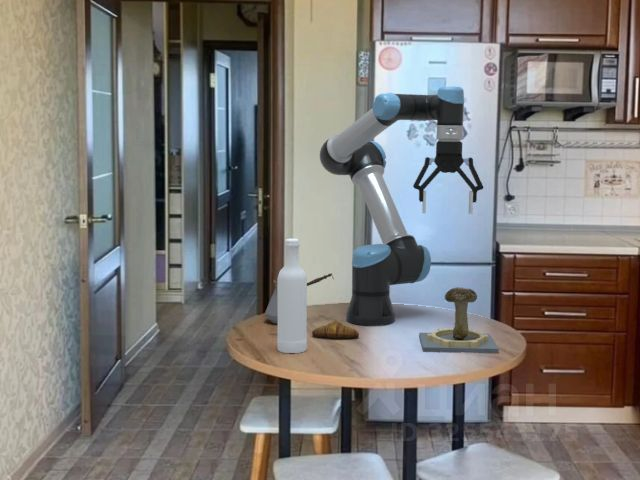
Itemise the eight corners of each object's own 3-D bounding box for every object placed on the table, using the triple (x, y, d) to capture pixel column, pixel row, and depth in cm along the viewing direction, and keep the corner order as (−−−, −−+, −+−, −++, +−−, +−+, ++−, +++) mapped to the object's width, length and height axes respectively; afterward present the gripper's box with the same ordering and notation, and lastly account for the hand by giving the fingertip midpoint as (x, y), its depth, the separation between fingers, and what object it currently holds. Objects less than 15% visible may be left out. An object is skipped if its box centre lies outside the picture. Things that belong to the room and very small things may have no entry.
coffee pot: (265, 326, 237) (265, 277, 235) (264, 317, 248) (264, 271, 246) (335, 325, 239) (336, 276, 237) (331, 316, 250) (331, 270, 248)
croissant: (359, 335, 227) (359, 318, 226) (358, 341, 220) (358, 324, 220) (313, 334, 228) (313, 317, 228) (310, 340, 222) (310, 322, 221)
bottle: (303, 354, 206) (304, 241, 203) (274, 353, 208) (274, 240, 204) (309, 346, 214) (309, 237, 210) (280, 345, 215) (280, 236, 212)
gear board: (422, 351, 210) (423, 341, 209) (419, 336, 226) (419, 327, 225) (498, 353, 208) (498, 343, 208) (489, 338, 224) (489, 328, 224)
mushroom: (453, 346, 211) (455, 291, 209) (437, 338, 218) (438, 285, 217) (483, 343, 214) (485, 289, 212) (466, 335, 222) (467, 283, 220)
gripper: (407, 140, 225) (405, 213, 228) (494, 141, 224) (491, 215, 227) (405, 140, 233) (404, 211, 236) (490, 141, 231) (487, 212, 234)
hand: (447, 213), depth 231 cm, fingers open, 13 cm apart
